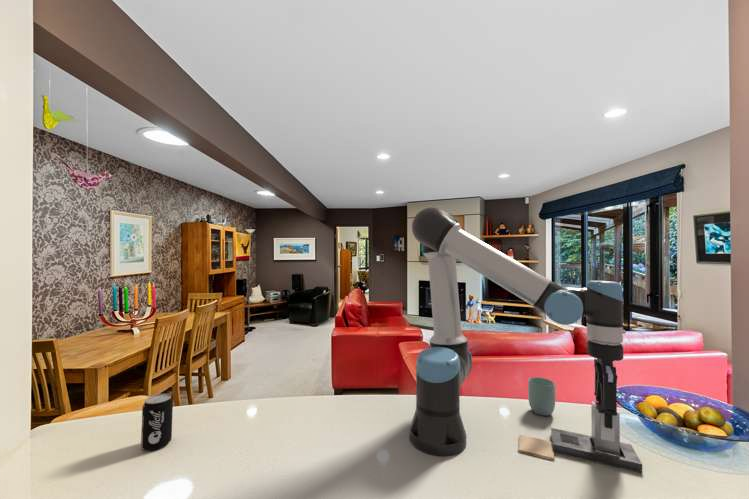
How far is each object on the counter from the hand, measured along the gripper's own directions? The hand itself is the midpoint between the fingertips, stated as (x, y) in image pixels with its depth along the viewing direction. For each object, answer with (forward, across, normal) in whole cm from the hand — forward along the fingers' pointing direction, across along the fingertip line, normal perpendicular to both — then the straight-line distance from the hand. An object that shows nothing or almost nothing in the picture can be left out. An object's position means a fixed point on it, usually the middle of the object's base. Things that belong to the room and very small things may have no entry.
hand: (605, 434), depth 81 cm
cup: (+6, +18, +14) cm, 24 cm away
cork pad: (+5, -4, +16) cm, 17 cm away
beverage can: (+6, -48, +104) cm, 115 cm away
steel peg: (+3, 0, 0) cm, 3 cm away
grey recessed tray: (+5, 0, +3) cm, 6 cm away
